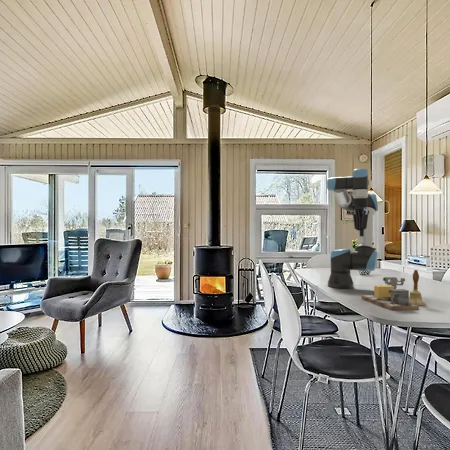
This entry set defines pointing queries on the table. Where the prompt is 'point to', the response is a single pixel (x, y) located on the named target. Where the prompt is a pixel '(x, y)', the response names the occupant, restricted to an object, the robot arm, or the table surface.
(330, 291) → the table surface
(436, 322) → the table surface
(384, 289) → the block
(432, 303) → the table surface
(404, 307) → the board
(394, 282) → the mechanical component
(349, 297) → the table surface
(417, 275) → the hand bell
